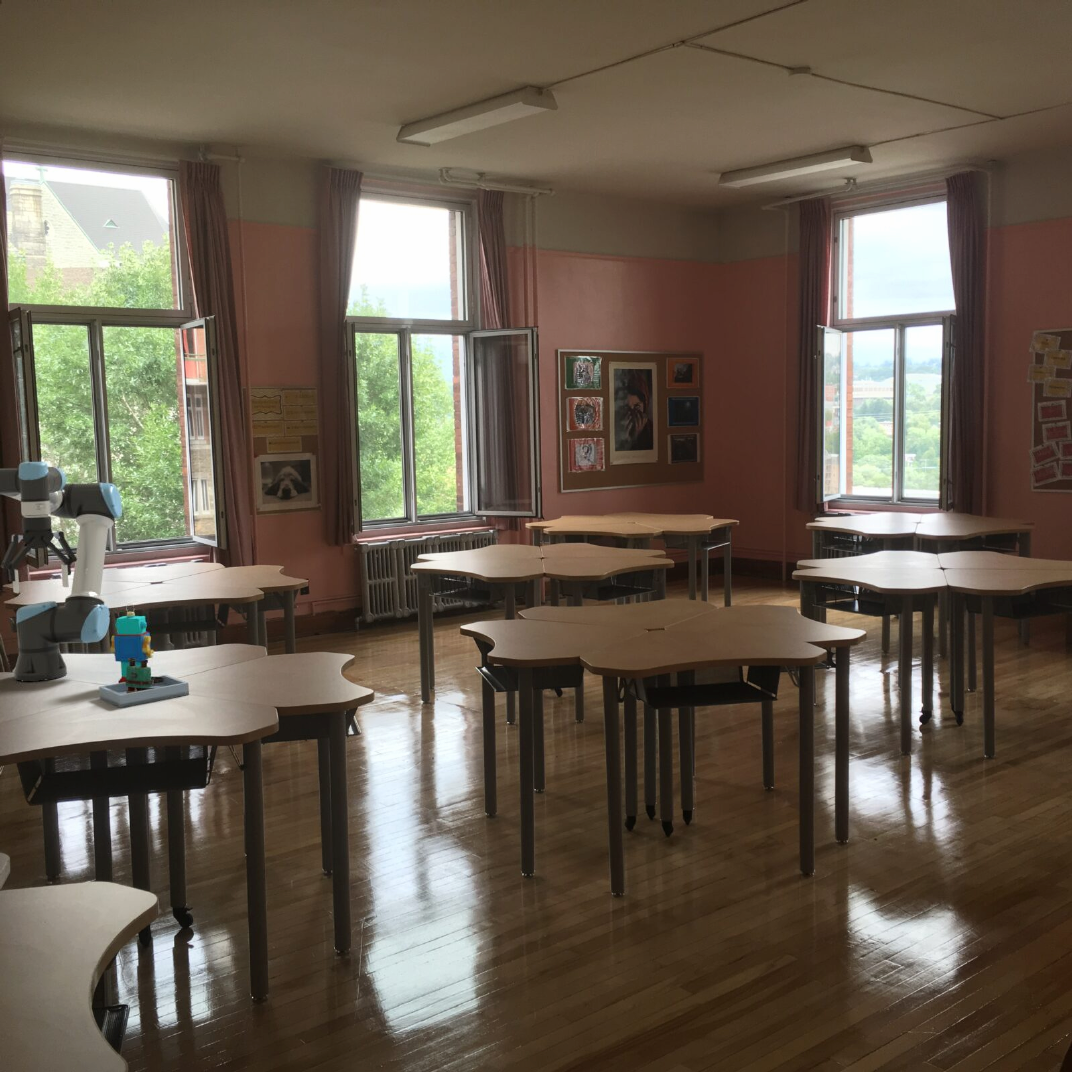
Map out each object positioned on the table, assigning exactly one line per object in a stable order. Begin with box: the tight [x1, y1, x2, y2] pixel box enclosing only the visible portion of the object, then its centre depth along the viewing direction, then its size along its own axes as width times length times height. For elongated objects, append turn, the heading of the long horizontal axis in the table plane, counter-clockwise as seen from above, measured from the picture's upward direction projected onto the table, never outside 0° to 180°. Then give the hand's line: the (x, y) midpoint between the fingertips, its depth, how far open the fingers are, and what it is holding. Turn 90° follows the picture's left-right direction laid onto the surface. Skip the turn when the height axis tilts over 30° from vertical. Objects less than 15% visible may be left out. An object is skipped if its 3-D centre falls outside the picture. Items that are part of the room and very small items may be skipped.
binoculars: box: [125, 658, 164, 694], centre depth 314 cm, size 9×11×10 cm
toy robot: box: [110, 603, 155, 683], centre depth 327 cm, size 12×6×25 cm, turn 84°
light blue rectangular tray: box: [98, 674, 190, 709], centre depth 314 cm, size 15×20×4 cm
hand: (41, 589), depth 311 cm, fingers open, 13 cm apart
